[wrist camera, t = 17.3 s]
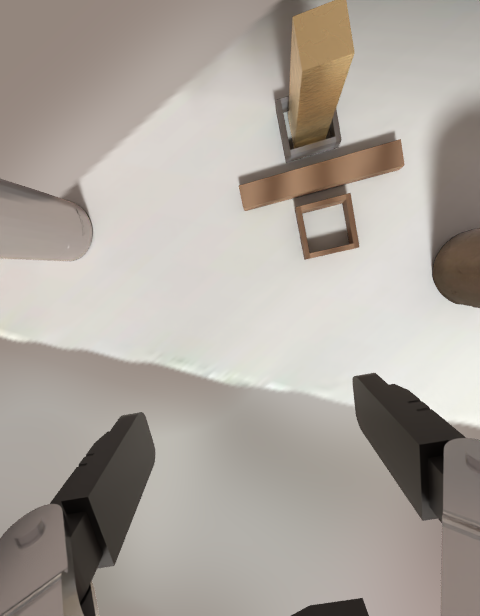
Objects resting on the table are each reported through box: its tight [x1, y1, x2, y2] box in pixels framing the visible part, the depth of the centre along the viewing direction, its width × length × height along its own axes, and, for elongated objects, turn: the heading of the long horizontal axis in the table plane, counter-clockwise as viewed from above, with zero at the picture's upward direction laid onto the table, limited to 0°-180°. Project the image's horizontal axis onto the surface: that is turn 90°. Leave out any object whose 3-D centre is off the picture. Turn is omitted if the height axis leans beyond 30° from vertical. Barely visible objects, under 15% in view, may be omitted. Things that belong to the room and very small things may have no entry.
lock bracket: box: [239, 96, 404, 260], centre depth 34 cm, size 20×20×2 cm
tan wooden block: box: [288, 0, 354, 149], centre depth 27 cm, size 4×4×14 cm
